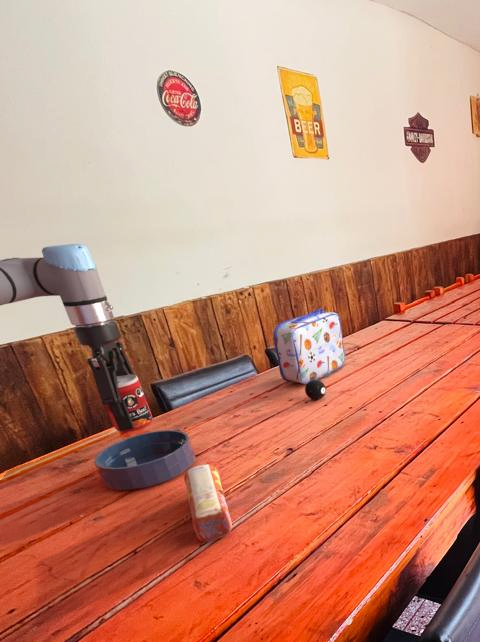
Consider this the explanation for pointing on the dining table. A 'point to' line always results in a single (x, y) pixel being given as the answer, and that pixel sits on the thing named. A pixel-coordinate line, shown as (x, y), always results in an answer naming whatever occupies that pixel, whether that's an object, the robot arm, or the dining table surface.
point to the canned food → (132, 402)
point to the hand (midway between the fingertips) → (133, 421)
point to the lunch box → (309, 346)
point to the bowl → (145, 459)
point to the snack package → (207, 503)
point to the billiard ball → (315, 389)
